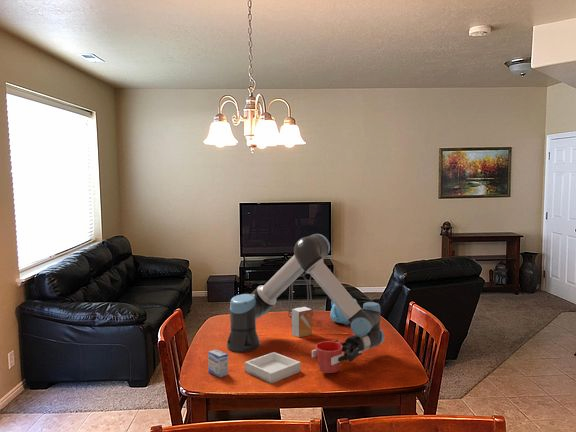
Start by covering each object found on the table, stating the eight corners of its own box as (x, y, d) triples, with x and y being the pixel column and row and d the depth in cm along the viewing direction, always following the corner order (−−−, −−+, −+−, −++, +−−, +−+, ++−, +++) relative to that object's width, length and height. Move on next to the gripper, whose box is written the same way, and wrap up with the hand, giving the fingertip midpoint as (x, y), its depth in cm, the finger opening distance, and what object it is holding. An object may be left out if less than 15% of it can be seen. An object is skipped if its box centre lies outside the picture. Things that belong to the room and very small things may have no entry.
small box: (298, 337, 239) (298, 311, 238) (291, 334, 244) (291, 308, 243) (312, 334, 243) (312, 309, 242) (304, 331, 249) (304, 306, 248)
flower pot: (313, 373, 192) (313, 349, 191) (318, 362, 203) (318, 340, 202) (340, 376, 190) (340, 351, 189) (343, 365, 200) (344, 342, 199)
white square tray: (271, 383, 187) (271, 373, 187) (244, 371, 199) (244, 362, 199) (300, 371, 198) (300, 362, 198) (273, 360, 210) (273, 351, 210)
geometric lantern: (286, 326, 257) (285, 260, 254) (286, 318, 272) (284, 256, 270) (316, 325, 257) (315, 259, 255) (314, 317, 273) (313, 255, 270)
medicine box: (207, 372, 199) (207, 351, 198) (216, 369, 202) (216, 348, 201) (219, 377, 193) (219, 356, 192) (228, 374, 196) (228, 353, 195)
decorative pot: (361, 326, 255) (361, 301, 254) (330, 326, 257) (330, 300, 256) (359, 317, 272) (360, 293, 270) (330, 316, 273) (330, 293, 272)
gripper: (378, 359, 200) (343, 375, 185) (337, 345, 216) (301, 359, 201) (379, 341, 200) (344, 356, 184) (337, 329, 216) (301, 341, 200)
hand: (321, 357), depth 193 cm, fingers closed on flower pot, 10 cm apart
